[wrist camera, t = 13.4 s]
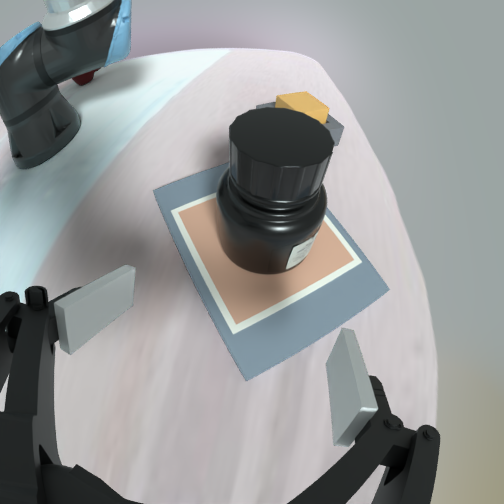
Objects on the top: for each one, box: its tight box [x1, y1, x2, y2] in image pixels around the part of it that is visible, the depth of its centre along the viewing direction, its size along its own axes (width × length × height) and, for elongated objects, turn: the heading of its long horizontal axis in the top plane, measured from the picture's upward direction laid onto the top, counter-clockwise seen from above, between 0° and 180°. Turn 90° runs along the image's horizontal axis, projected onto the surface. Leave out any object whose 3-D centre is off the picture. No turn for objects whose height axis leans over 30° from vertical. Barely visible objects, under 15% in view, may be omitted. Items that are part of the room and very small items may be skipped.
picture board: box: [153, 163, 390, 381], centre depth 27 cm, size 22×16×1 cm
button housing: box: [256, 102, 344, 146], centre depth 36 cm, size 9×9×4 cm
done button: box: [275, 92, 329, 124], centre depth 34 cm, size 5×5×4 cm
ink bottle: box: [216, 107, 335, 275], centre depth 21 cm, size 10×9×12 cm
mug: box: [72, 68, 100, 85], centre depth 45 cm, size 11×8×10 cm
